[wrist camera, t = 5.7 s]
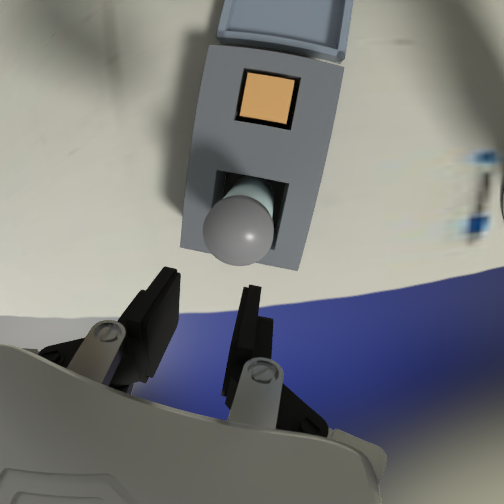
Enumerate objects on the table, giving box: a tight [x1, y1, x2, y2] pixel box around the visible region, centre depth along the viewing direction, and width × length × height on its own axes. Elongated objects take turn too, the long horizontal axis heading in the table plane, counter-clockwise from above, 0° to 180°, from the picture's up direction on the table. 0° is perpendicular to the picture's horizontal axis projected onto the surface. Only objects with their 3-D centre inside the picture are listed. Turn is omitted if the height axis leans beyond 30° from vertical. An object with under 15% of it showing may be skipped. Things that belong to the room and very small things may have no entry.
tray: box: [216, 0, 353, 64], centre depth 21 cm, size 13×10×2 cm
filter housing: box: [180, 45, 344, 271], centre depth 27 cm, size 12×20×6 cm, turn 170°
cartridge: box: [203, 176, 274, 266], centre depth 26 cm, size 5×5×12 cm
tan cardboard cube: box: [240, 73, 295, 125], centre depth 24 cm, size 4×4×5 cm
